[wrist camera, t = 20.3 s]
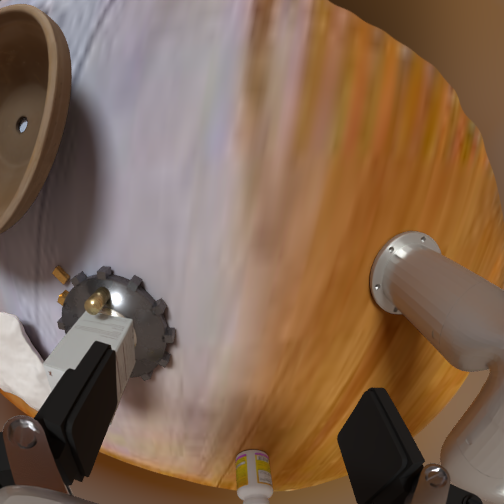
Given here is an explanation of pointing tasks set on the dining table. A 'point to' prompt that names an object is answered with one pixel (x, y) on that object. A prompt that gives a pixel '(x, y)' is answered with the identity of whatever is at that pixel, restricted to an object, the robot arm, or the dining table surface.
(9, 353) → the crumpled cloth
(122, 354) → the supplement box
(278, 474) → the dining table surface
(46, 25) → the flower pot
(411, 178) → the dining table surface
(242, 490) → the supplement bottle
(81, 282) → the sprocket disc
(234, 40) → the dining table surface
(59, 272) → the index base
